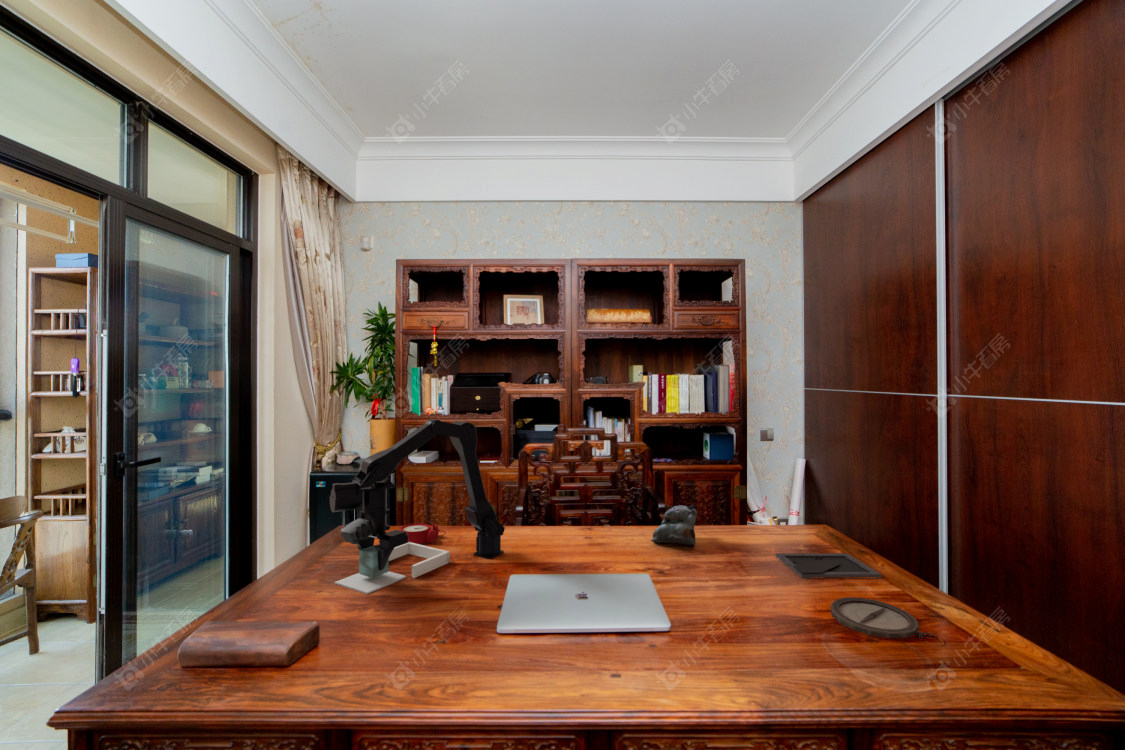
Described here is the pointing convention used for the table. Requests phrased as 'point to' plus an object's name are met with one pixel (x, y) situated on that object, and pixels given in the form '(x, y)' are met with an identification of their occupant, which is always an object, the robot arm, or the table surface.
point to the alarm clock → (421, 533)
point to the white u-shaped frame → (432, 554)
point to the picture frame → (826, 565)
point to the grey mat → (369, 582)
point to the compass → (875, 618)
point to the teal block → (370, 563)
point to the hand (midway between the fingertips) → (373, 568)
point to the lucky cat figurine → (677, 526)
